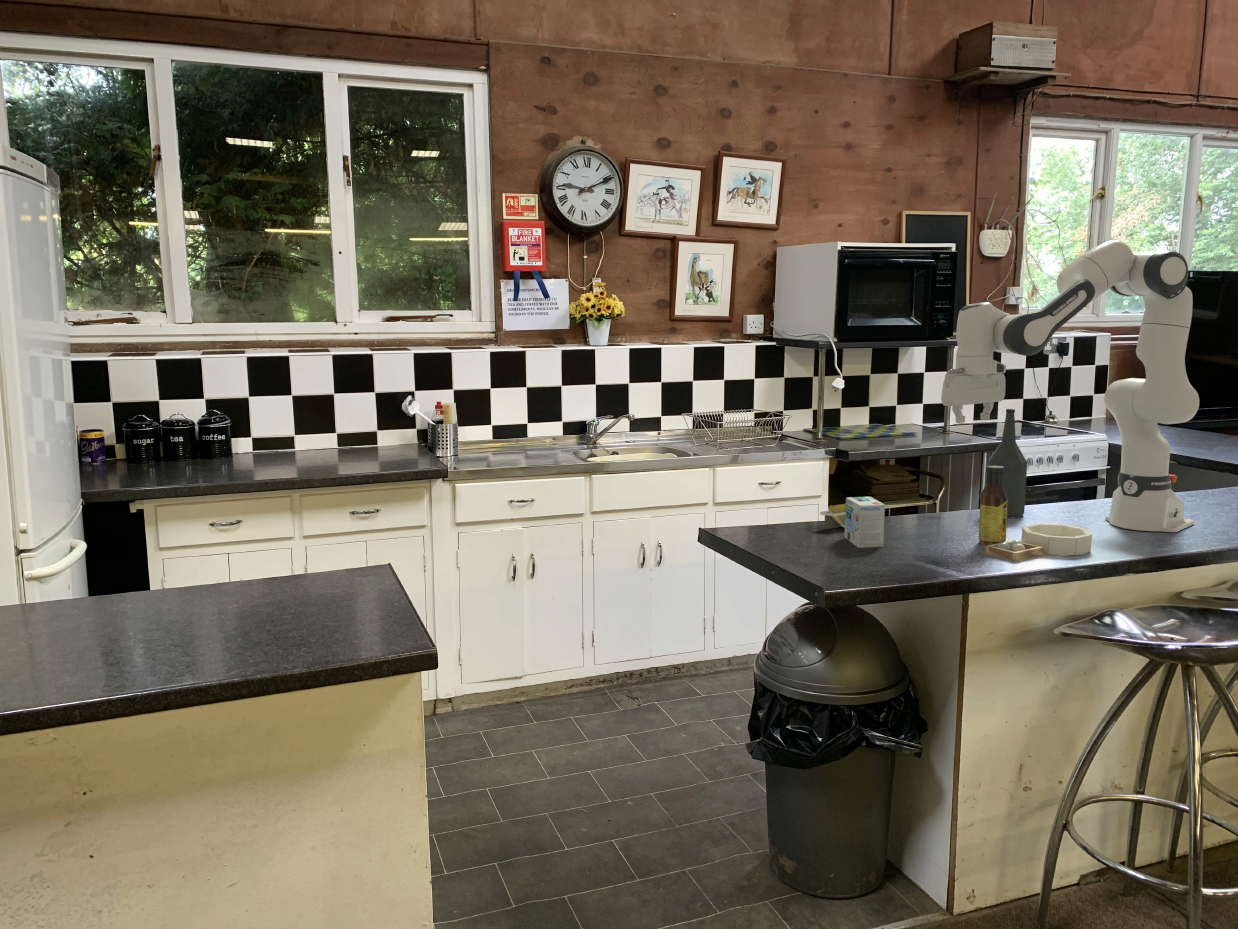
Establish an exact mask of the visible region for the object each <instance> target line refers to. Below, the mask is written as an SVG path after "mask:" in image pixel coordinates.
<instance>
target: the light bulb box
mask: <svg viewBox="0 0 1238 929" xmlns="http://www.w3.org/2000/svg"><path fill="white" fill-rule="evenodd" d="M845 504H846V517H845V528H844V538H845V539H846V540H847V541H849V543H851V544H852V545H854V546H855V547H856V548H858V549H860V548H862V549H863V548H884V535H885V534H884V533H885V511H886V504H884V503H882V502H881V501H879V500H878V499H876V498H874V497H872V496H855V497H854V496H853V497H852V496H850V497H845Z"/></svg>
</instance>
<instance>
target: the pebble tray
mask: <svg viewBox="0 0 1238 929" xmlns="http://www.w3.org/2000/svg"><path fill="white" fill-rule="evenodd" d="M1014 540H1015V539H1013V540H1008V541H1005V542H1004V543H1007V544H1009V546H1010V544H1011V542H1012V541H1014ZM1022 543H1023V542H1022ZM998 544H1000V543H997V544H993V545H988V546H985V555H986V556H990V557H995V558H998V559H1003V560H1007V561H1009V562H1010V561H1011V562H1014V563H1016V562H1022V561H1025V560H1029V559H1035V558H1039V557H1042V556H1044V553H1043V547H1040V546H1036V545H1032V544H1028V543H1023V545H1024V546H1025V548H1026V550H1021V551H1017V552H1013V551H1012V550H1011V549H1010V551H1009V550H1005V549H1001V548H997V546H998Z"/></svg>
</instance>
